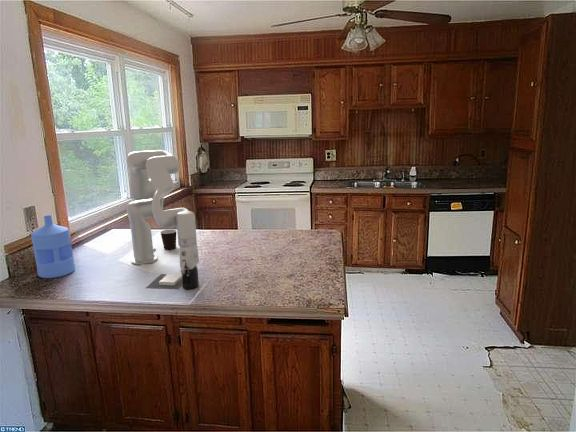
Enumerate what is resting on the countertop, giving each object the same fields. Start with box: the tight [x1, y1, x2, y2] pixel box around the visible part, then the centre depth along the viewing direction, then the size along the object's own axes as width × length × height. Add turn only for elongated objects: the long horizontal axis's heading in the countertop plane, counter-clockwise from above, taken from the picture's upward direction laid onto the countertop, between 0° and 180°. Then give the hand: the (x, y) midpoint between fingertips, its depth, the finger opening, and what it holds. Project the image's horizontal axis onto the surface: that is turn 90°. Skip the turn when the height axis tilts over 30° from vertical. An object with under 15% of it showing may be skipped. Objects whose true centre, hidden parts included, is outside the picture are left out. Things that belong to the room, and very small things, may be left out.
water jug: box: [30, 215, 76, 279], centre depth 187 cm, size 16×16×28 cm
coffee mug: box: [160, 228, 177, 251], centre depth 224 cm, size 12×9×10 cm
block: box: [159, 273, 182, 286], centre depth 175 cm, size 9×2×7 cm
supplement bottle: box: [182, 266, 200, 291], centre depth 168 cm, size 7×7×12 cm
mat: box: [145, 273, 183, 290], centre depth 176 cm, size 16×15×1 cm
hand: (190, 280), depth 169 cm, fingers closed on supplement bottle, 6 cm apart
